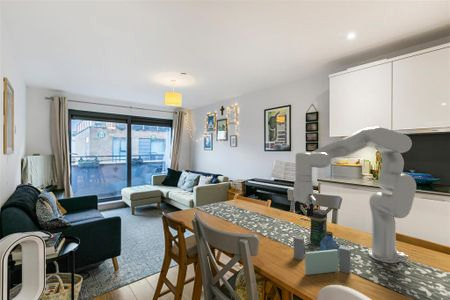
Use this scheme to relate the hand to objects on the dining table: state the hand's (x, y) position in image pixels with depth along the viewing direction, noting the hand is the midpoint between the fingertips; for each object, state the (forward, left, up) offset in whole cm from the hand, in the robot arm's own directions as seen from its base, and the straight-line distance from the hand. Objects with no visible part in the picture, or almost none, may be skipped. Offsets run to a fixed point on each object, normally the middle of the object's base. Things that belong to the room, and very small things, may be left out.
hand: (303, 213), depth 106 cm
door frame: (-8, -1, -23) cm, 24 cm away
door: (-10, +7, -22) cm, 25 cm away
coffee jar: (-2, -25, -23) cm, 33 cm away
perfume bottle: (-10, -11, -23) cm, 27 cm away
